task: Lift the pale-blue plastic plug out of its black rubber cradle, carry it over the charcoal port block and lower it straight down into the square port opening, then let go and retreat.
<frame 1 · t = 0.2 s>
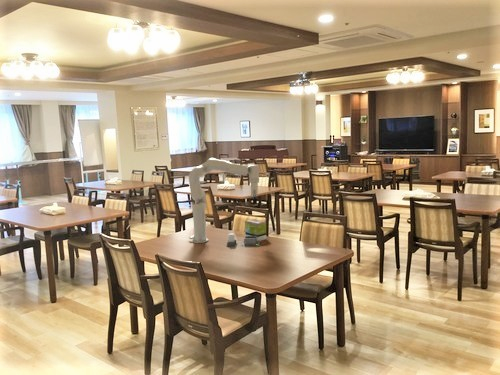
hand: (254, 202, 344), 31 cm above the table, fingers open, 9 cm apart
tea box: (255, 239, 354), on the table
port: (250, 244, 337), on the table
holster: (231, 245, 335), on the table
plug: (231, 245, 335), point 1 cm above the table, touching holster
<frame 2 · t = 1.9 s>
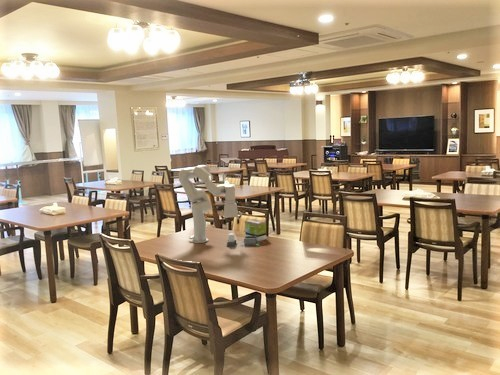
hand: (231, 224, 332), 17 cm above the table, fingers open, 9 cm apart
nothing on the table moved.
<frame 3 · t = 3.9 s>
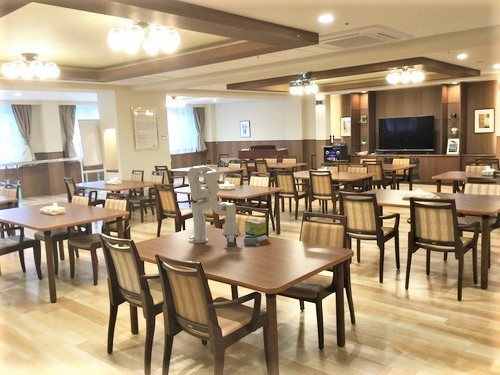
hand: (231, 243, 335), 2 cm above the table, fingers closed on plug, 4 cm apart
plug: (231, 245, 335), point 1 cm above the table, touching gripper, holster
everything else where it was.
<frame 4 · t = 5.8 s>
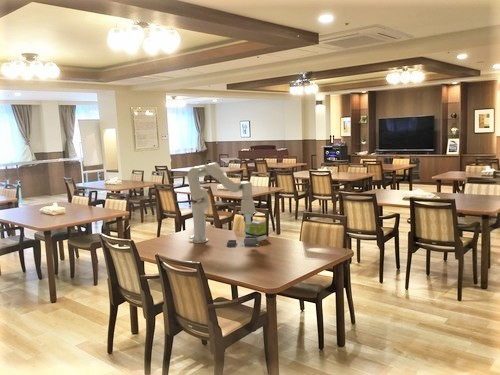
hand: (248, 221, 334), 18 cm above the table, fingers closed on plug, 4 cm apart
plug: (248, 223, 334), point 16 cm above the table, touching gripper
everything else where it was.
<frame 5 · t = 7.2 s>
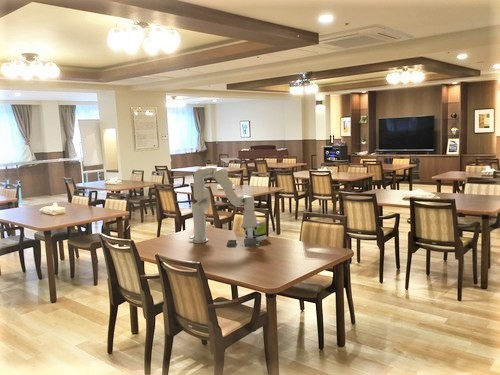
hand: (250, 235, 336), 7 cm above the table, fingers closed on plug, 4 cm apart
plug: (250, 237, 336), point 6 cm above the table, touching gripper
everything else where it was.
when the fingers open (4 cm above the table, at t = 8.2 s): plug drops 1 cm, resting on port.
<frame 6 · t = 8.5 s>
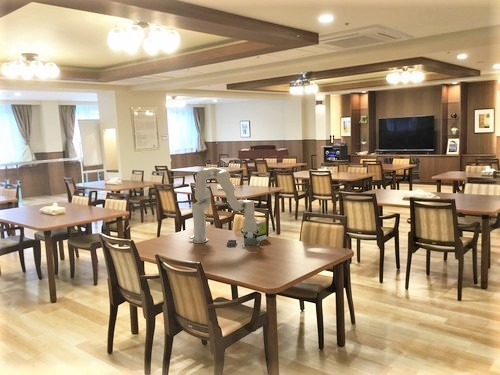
hand: (250, 239, 336), 4 cm above the table, fingers open, 7 cm apart
plug: (250, 243, 337), point 1 cm above the table, touching port
everything else where it was.
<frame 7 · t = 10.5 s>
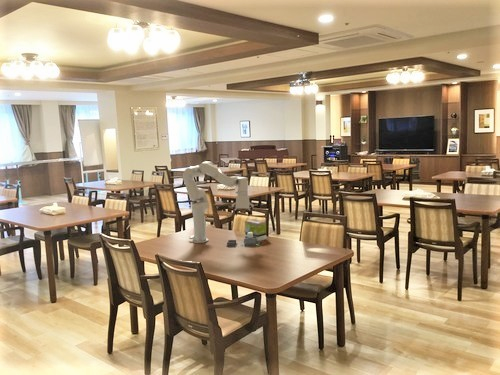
hand: (242, 215, 336), 22 cm above the table, fingers open, 9 cm apart
nothing on the table moved.
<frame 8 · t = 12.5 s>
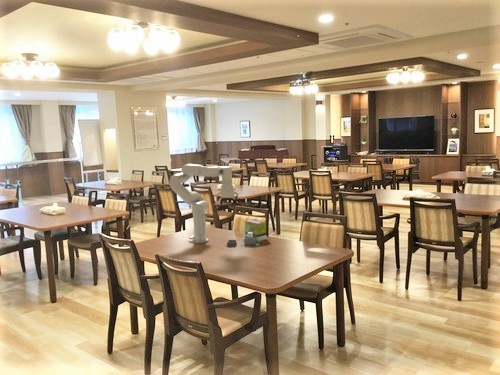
hand: (227, 204, 340), 30 cm above the table, fingers open, 9 cm apart
nothing on the table moved.
at the end: plug 0.0 cm off-centre on the port, point 0.8 cm above the port's base; plug tilted 0°; the gripper is holding nothing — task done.
